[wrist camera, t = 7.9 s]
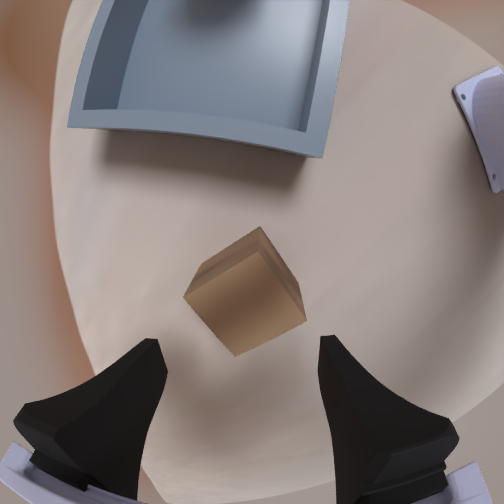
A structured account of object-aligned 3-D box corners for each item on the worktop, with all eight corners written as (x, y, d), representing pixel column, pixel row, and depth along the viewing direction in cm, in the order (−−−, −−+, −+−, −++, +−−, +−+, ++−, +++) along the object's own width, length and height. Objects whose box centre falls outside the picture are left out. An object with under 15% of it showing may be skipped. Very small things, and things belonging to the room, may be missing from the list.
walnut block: (298, 282, 20) (306, 321, 15) (241, 314, 21) (235, 356, 16) (260, 225, 19) (258, 250, 14) (201, 263, 20) (183, 297, 15)
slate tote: (169, -53, 10) (151, -84, 6) (340, -40, 11) (355, -74, 6) (109, 129, 17) (67, 127, 12) (307, 157, 17) (322, 158, 12)
